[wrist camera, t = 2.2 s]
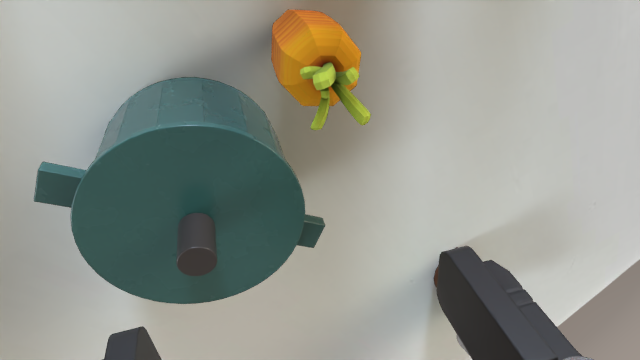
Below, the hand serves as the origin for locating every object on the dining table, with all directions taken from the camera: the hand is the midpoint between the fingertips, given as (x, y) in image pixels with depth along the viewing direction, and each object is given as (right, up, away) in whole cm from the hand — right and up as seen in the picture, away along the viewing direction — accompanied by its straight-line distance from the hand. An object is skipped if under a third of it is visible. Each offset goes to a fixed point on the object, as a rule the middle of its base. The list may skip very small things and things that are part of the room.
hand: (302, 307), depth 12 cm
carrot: (-2, +15, +21) cm, 26 cm away
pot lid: (-8, +1, +18) cm, 19 cm away
